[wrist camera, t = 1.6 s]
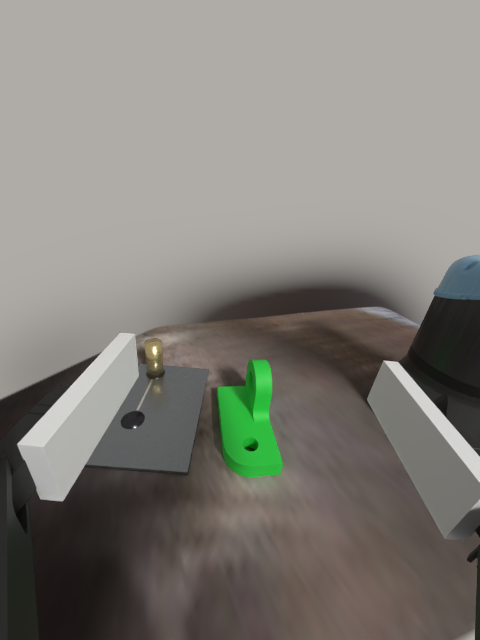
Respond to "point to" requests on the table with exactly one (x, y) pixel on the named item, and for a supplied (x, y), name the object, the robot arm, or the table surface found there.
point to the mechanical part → (249, 424)
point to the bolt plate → (154, 419)
